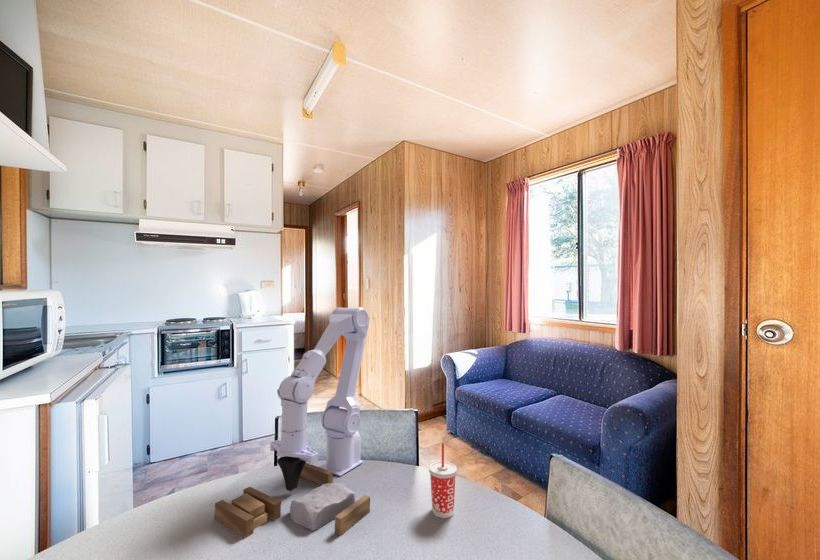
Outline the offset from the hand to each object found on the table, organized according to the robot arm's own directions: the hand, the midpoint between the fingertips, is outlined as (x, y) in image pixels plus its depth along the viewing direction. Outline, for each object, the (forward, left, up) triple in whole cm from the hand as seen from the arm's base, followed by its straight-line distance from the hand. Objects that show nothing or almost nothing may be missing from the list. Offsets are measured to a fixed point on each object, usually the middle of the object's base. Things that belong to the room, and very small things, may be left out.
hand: (291, 488), depth 77 cm
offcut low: (+11, 0, -2) cm, 11 cm away
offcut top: (+11, 0, 0) cm, 11 cm away
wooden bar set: (+3, +7, -1) cm, 8 cm away
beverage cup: (-13, +33, -2) cm, 35 cm away
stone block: (+1, +10, -2) cm, 10 cm away
